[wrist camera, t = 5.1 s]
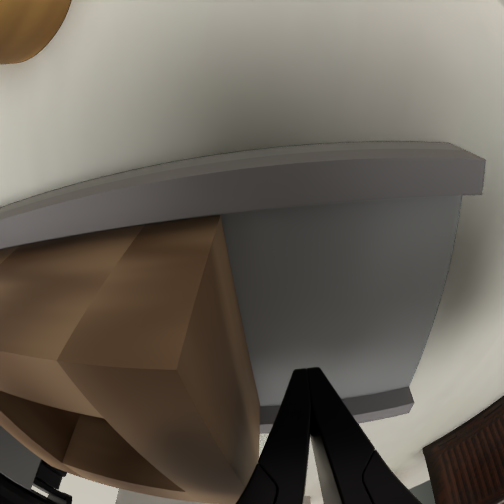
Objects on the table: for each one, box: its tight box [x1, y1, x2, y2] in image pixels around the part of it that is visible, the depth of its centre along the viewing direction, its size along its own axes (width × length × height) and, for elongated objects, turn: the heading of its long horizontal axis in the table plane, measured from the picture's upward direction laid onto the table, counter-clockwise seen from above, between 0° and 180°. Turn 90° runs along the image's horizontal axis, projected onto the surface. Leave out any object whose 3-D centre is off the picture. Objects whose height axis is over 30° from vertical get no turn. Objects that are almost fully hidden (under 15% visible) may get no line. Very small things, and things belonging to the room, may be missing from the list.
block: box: [0, 215, 260, 504], centre depth 9 cm, size 10×9×5 cm
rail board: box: [0, 141, 486, 490], centre depth 8 cm, size 21×12×8 cm, turn 97°
